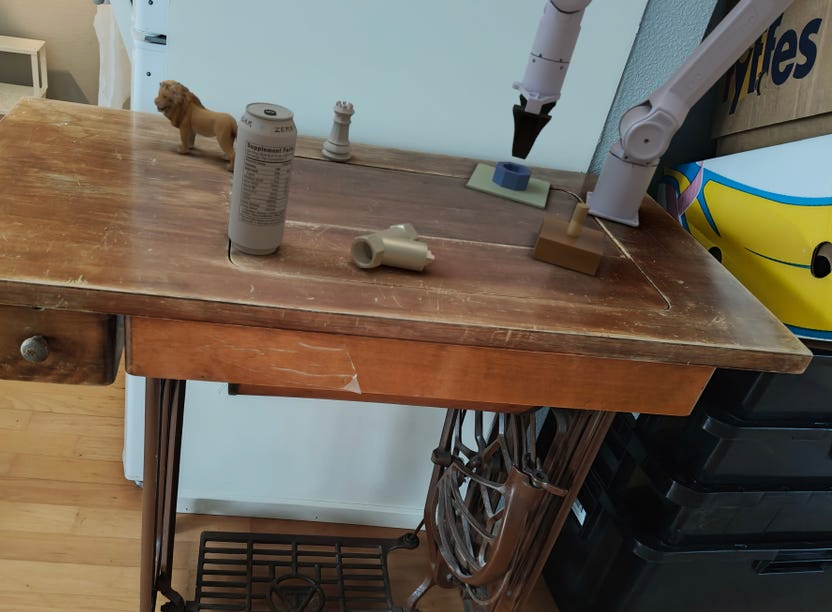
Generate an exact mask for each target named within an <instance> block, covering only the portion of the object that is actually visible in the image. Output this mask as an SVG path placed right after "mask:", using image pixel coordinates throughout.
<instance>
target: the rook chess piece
mask: <svg viewBox="0 0 832 612" xmlns="http://www.w3.org/2000/svg"><path fill="white" fill-rule="evenodd" d="M332 111H333V112H334V117H332V121H333V123H332V127H331V131H330V134H329V136H328V137H327V138H326V139H327V140H325V141H324V142H323V148H324V149H323V148H322V150H321V153H322V155H323V156H324V158H326V159H328V160H331V161H335V162H347V161H349V159H351V157H352V155H351V154H350V153H351V152H352V146H351V144H350V143H351V142H350V139H349V135H350V125H351V124H352V120H351V118H352V117H353V115H354V114H355V109H354V104H353V103H352V102H350V101H349V102H348V103H347V101H346V100H343V101H341V100H337V101H336V103H335V105H334V106H333V108H332Z"/></svg>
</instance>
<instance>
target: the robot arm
mask: <svg viewBox="0 0 832 612" xmlns="http://www.w3.org/2000/svg"><path fill="white" fill-rule="evenodd" d="M794 1H795V0H739V2H738V3H737V4H736V5H735V6H734V7H733V8H732V9H731V10H730V12H729V13H728V14H726V16H725V17H724V18H723V19H722V20H721V21H720V22H719V23H718V24H717V25H716V26H715V28H714V29H713V30H712V31H711V32H710V33H709V34H708V35H707V37H706V38H705V39H703V41H702V42H701V43H700V44H699V45H698V46H697V47H696V49H694V51H693V52H692V53H690V55H689V56H688V57H687V58H686V60H684V62H683V63H682V64H681V65H680V66H679V67H678V68H677V69H676V70H675V71H674V73H672V74H671V76H670V77H669V78H668V79H666V81H665V82H664V83H663V84H662V85H661V86H660V87H658V88H657V89H655V90H653V91H652V92H650V93H649V94H648V95H647V97H646V98H645V99H644V100H642V101H641V102H639V103H637V104H634V105H632V106H631V107H628V108H627V110H625V111H624V112H623V114H622V115H621V117H620V118H619V121H618V127H617V130H618V135H619V136H620V138H619V139H617V141H616V142H614V143H613V144H612V145H610V147H609V150H608V153H607V155H606V158H605V161H604V163H603V165H602V167H601V168H602V169H601V171H600V173H599V176H598V178H597V181H596V183H595V186H594V189H593V191H587V193H586V198H585V204H587V205H588V206H590V208H589V211H588V213H587V215H592V216H596V217H600V218H602V219H606V220H610V221H613V222H617V223H620V224H623V225H627V226H630V227H635V228H638V227H639V225H640V222H639V209H640V207H641V205H642V202H643V201H644V197H645V196H646V193H647V191H648V188H649V186H650V184H651V181H652V179H653V177H654V175H655V172H656V170H657V167H658V165H659V163H660V161H661V159H660V158H661V157H662V156H663V155H664V154H665V153H666V152H667V150H668V148H669V146H670V144H671V140H672V138H673V137H674V135H675V134H676V133H677V131H678V130H679V129H680V128H681V127H682V126H683V124H684V122H685V120H686V117H687V116H688V114H689V112H690V109H691V108H692V107H694V105H695V104H696V103H697V102H698V101H699V100H701V98H702V97H703V96H704V95H705V94H706V93H707V92H708V91H709V90H710V89H711V88H712V87H713V86H714V85H715V84H716V82H718V80H720V78H721V77H722V76H724V74H726V72H727V71H728V70H729V69H730V68H731V67H732V66H733V65H734V64H735V63H736V62H737V61H738V60H739V59H740V57H742V56H743V54H744V53H746V51H747V50H748V49H749V48H750V47H751V46H752V45H754V43H755V42H756V41H757V40H758V39H759V38H760V37H761V36H762V34H763V33H764V32H766V30H767V29H769V27H770V26H772V25H773V23H774V22H775V21H776V20H777V19H778V18H779V17H780V16H781V15H782V14H783V13H784V12H785V11H786V9H788V8H789V7H790V5H792V3H793V2H794ZM592 2H593V0H547V2H546V3H545V5H544V8H543V16H542V17H540V19H539V23H538V25H537V29H536V33H535V36H534V38H533V43H532V45H531V50H530V53H529V56H528V59H527V64H526V66H525V69H524V74H523V76H522V80H521V81H516V80H515V81H513V83H512V85H511V88H512V89H513V90H517V91H519V92H520V94H519V97H518V98H519V103H520V104H516V103H514V105H513V106H512V117H513V128H514V129H513V138H512V146H511V157H514V158H517V159H521V160H524V161H525V160H526V159H527V157H528V156H529V154H530V153H531V151H532V149H533V147H534V144H535V142H536V140H537V139H538V137H539V135H540V133H541V132H542V131H543V129H544V128H545V126H547V125H549V123H550V122H551V121H552V118H553V115H551V114H550V113H551V112H552V111H553V109H554V108H555V107H556V106H557V103H558V101H560V99H561V97H562V93H561V92H562V88H563V85H564V82H565V79H566V76H567V73H568V70H569V67H570V64H571V61H572V57H573V54H574V51H575V49H576V45H577V42H578V39H579V36H580V33H581V29H582V26H581V24H582V21H583V17H584V15H585V12H586V8H588V6H590V4H591V3H592Z"/></svg>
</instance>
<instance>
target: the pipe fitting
mask: <svg viewBox="0 0 832 612" xmlns="http://www.w3.org/2000/svg"><path fill="white" fill-rule="evenodd" d="M419 240H420V237H419V234H418V232H417V230H416V228H415V227H414V226H413V225H412V223H409V222H408V223H397V224H393V225H390V226H389V228H386V229H383V230H381V231H377V232H374V233H371V234H362V235H359V236H356V237H354V238H353V240H352V244H351V247H350V255H351V258H352V259H353V261H354V263H355V264H356V266H357V267H359V268H360V269H372V268H376V267H378V266H380V265H384V266H389V267H393V268H400V269H405V270H411V271H417V272H423V270H424V268H425V267H426V266H427V267H429V265H430V264H434V262H435V255H434V254H432V250H429V248H428V243H426V242H422V241H419Z"/></svg>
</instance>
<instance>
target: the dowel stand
mask: <svg viewBox="0 0 832 612" xmlns="http://www.w3.org/2000/svg"><path fill="white" fill-rule="evenodd" d="M589 208H590V206H588V205H587V204H586V203H584V202H577V203H576V206H575V209H574V211H573V214H572V216H571V219H570V222H569V221H565V220H562V219H559V218H555V217H551V216H548V215H544V216H543V218H542V221H541V223H540V226H539V230H538V232H537V235H536V240H535V244H534V247H533V252H532V256H531V258H533V259H536V260H539V261H542V262H545V263H548V264H551V265H552V264H553V265H555V266H559V267H563V268H566V269H569V270H571V271H572V270H573V271H575V272H579V273H583V274H586V275H589V276H592V277H593V276H595V275H596V272H597V270H598V268H599V266H600V263H601V261H602V258H603V257H604V232H603V231H601V230H598V229H597V230H596V229H593V228H590V227H587V226H584V223H585V221H586V218H587V217H588V211H589Z"/></svg>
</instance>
